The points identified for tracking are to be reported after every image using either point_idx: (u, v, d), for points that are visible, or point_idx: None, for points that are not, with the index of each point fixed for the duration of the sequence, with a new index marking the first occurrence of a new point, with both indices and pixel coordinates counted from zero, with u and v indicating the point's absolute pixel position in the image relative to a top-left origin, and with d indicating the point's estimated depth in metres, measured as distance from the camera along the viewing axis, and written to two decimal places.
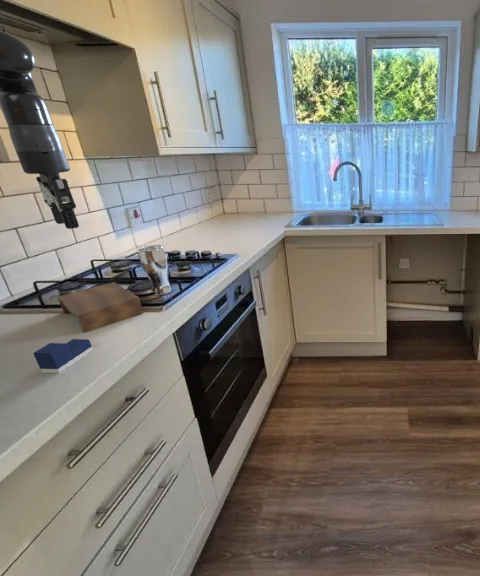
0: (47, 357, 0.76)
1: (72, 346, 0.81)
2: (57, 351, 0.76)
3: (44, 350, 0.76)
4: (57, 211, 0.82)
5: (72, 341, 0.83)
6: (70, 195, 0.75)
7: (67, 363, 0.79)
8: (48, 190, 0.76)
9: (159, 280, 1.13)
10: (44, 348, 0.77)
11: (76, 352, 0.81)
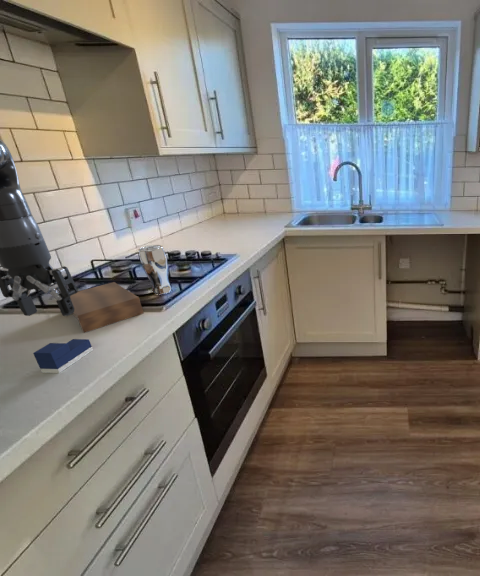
0: (47, 357, 0.76)
1: (72, 346, 0.81)
2: (57, 351, 0.76)
3: (44, 350, 0.76)
4: (26, 302, 0.76)
5: (72, 341, 0.83)
6: (72, 281, 0.75)
7: (67, 363, 0.79)
8: (40, 281, 0.72)
9: (159, 280, 1.13)
10: (44, 348, 0.77)
11: (76, 352, 0.81)
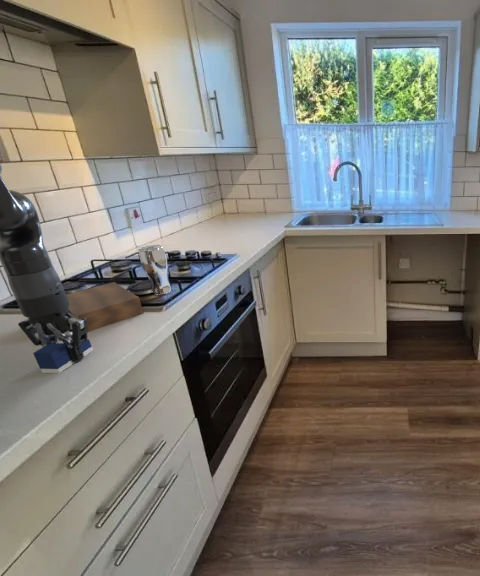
0: (47, 357, 0.76)
1: None
2: (57, 351, 0.76)
3: (44, 350, 0.76)
4: None
5: None
6: (86, 332, 0.79)
7: (67, 363, 0.79)
8: (58, 330, 0.76)
9: (159, 280, 1.13)
10: (44, 348, 0.77)
11: None
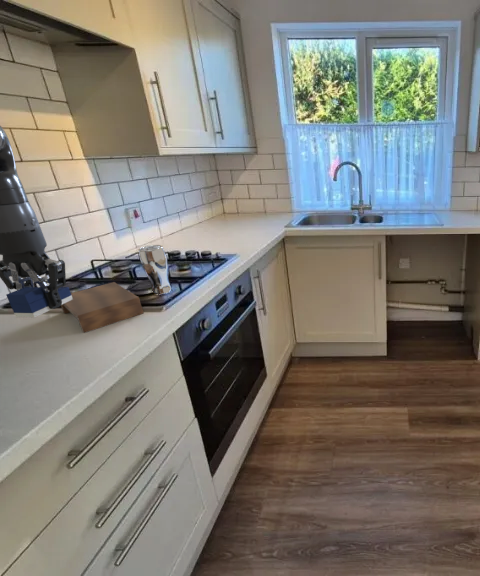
0: (21, 299, 0.71)
1: None
2: (32, 293, 0.71)
3: (18, 292, 0.71)
4: None
5: None
6: (64, 275, 0.74)
7: (44, 308, 0.74)
8: (33, 271, 0.71)
9: (159, 280, 1.13)
10: (18, 291, 0.72)
11: None
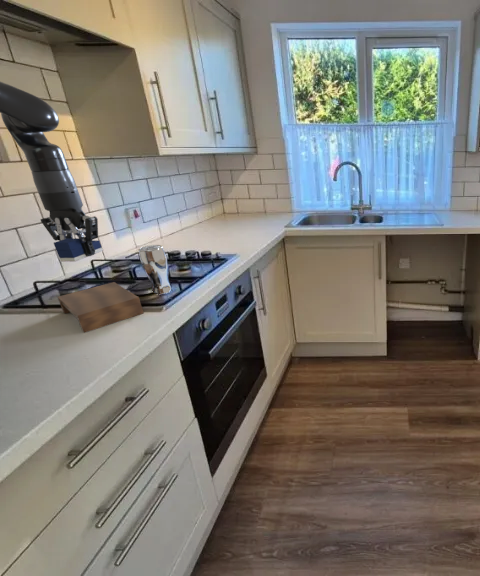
0: (65, 246, 0.90)
1: None
2: (73, 242, 0.91)
3: (62, 241, 0.91)
4: None
5: None
6: (97, 229, 0.94)
7: (82, 255, 0.94)
8: (73, 225, 0.91)
9: (159, 280, 1.13)
10: (62, 240, 0.92)
11: None
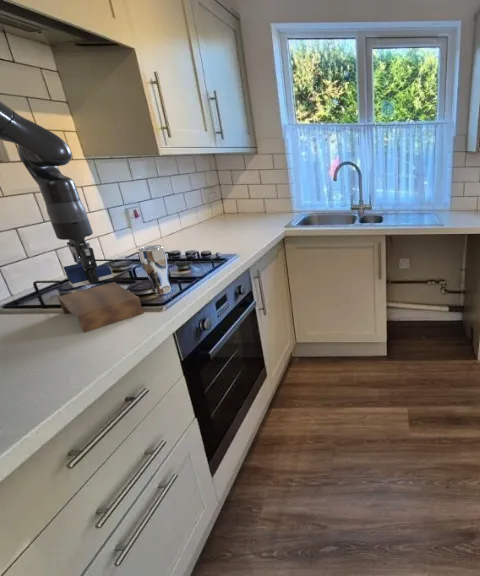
0: (67, 272, 0.95)
1: None
2: (74, 269, 0.95)
3: (69, 267, 0.96)
4: None
5: (101, 266, 1.02)
6: (94, 260, 0.95)
7: (84, 281, 0.97)
8: (76, 253, 0.94)
9: (159, 280, 1.13)
10: (72, 265, 0.97)
11: None
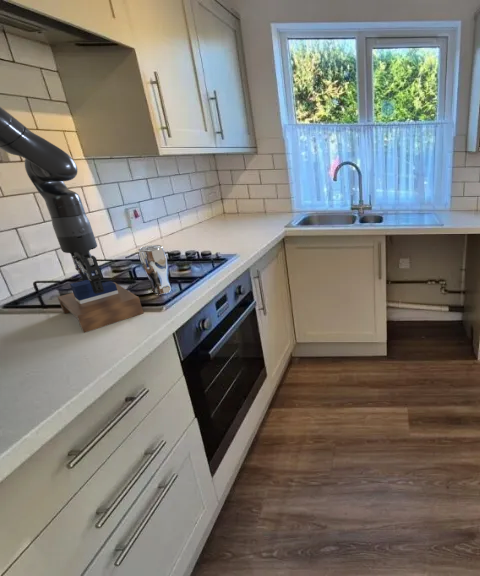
0: (74, 290, 0.97)
1: None
2: (80, 286, 0.97)
3: (75, 284, 0.98)
4: (86, 277, 1.02)
5: (107, 282, 1.04)
6: (98, 269, 0.95)
7: (90, 298, 0.99)
8: (81, 264, 0.95)
9: (159, 280, 1.13)
10: (78, 282, 0.99)
11: None
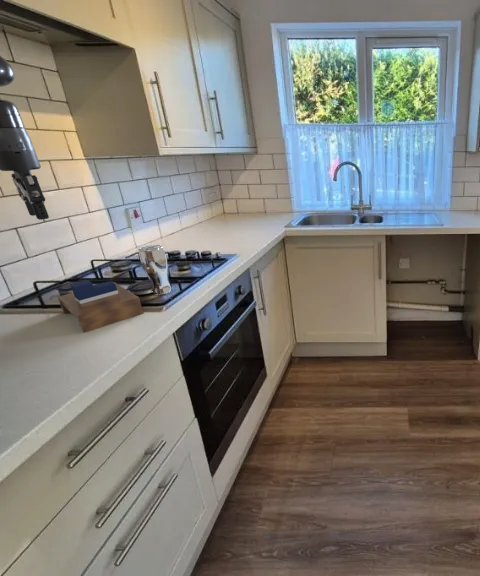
0: (74, 290, 0.97)
1: (100, 286, 1.01)
2: (80, 286, 0.97)
3: (75, 284, 0.98)
4: (30, 204, 0.93)
5: (107, 282, 1.04)
6: (40, 190, 0.86)
7: (90, 298, 0.99)
8: (20, 185, 0.86)
9: (159, 280, 1.13)
10: (78, 282, 0.99)
11: (100, 291, 1.01)
